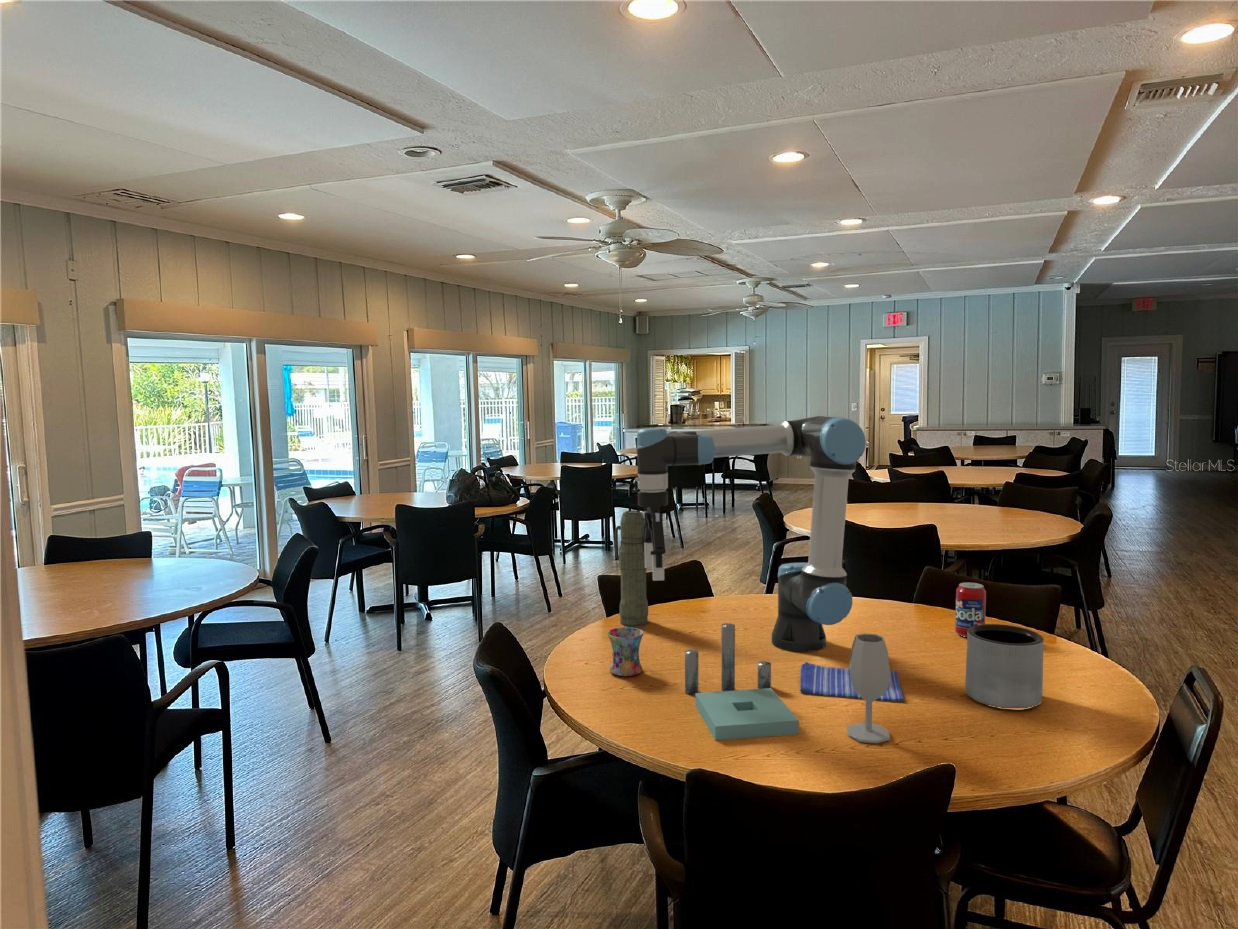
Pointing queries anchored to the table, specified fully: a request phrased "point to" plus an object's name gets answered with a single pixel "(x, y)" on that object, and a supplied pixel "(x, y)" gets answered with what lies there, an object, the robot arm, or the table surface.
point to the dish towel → (841, 683)
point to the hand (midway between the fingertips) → (654, 573)
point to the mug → (625, 650)
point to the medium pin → (691, 672)
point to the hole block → (745, 714)
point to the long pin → (728, 656)
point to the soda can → (969, 607)
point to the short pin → (764, 675)
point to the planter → (1004, 666)
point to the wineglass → (869, 683)
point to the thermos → (632, 569)
